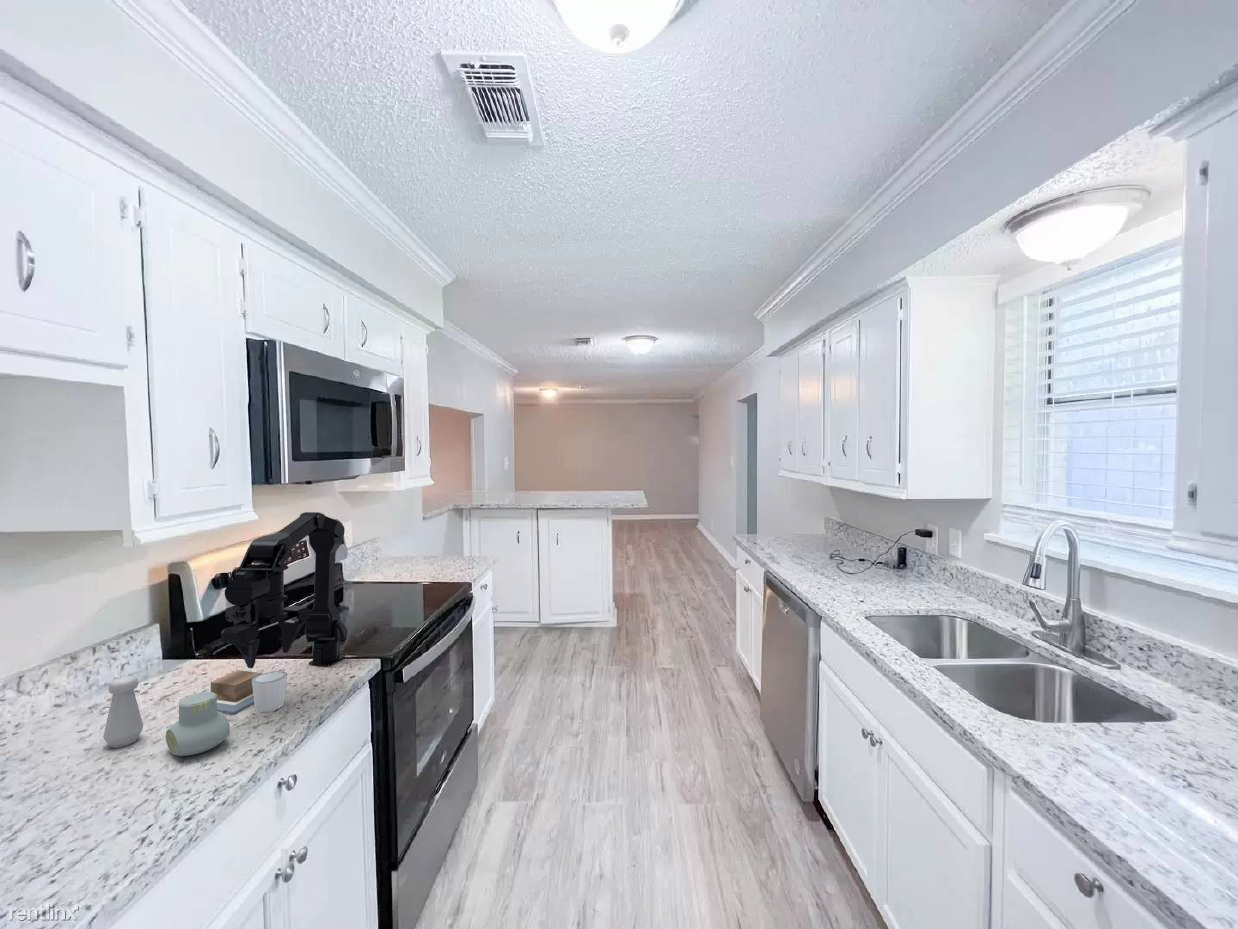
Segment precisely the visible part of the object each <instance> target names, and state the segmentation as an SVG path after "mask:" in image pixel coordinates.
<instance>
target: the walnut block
mask: <svg viewBox="0 0 1238 929" xmlns="http://www.w3.org/2000/svg"><path fill="white" fill-rule="evenodd" d="M260 674H263V673H262V672H255V671H250V670H241V669H237V670H235V671H232V672H231V673H228V674H227V675H223V676H221V677H219V678H217V679H215V680H213V681H210V692H213V693H215V694H216V695H217V700H221V701H228V702H237V701H239V700H241V699H243V698H245V697H247V696H249V695H251V694H253V687H252V679H253V678H254V677H256V676H258V675H260Z"/></svg>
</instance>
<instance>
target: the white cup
mask: <svg viewBox="0 0 1238 929" xmlns="http://www.w3.org/2000/svg"><path fill="white" fill-rule="evenodd" d="M287 680H288V673H287V672H286V671H283V670H275V671H268V672H264V673H262V674H260V675H258V676H256V677H254V678H253V679H252V687H253V696H254V704H253V705H254V711H255V712H256V711H257V712H256V713H260V712H263V713H268V712H269V711H270V712H274V711H277V710H279V709H280V707H281V708H282V707H283V706H284V704H285V698H286V688H287ZM276 709H277V710H276ZM270 712H269V713H270Z"/></svg>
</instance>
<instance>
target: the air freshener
mask: <svg viewBox="0 0 1238 929" xmlns="http://www.w3.org/2000/svg"><path fill="white" fill-rule="evenodd" d="M230 727H231V726H230V722H229V720H228V718H227V716H226V715H225V713H222V712H217V695H216V694H215V693H213V692H211V691H204V692H203V691H202V692H197V693H192V694H191V695H188V696H186V697H184V698H183V699H181V701H179V703H178V721H176V722H175V723H173V724H172V725H171V726H170V727H168V729H167V730H166V732H165V741H166V745H167V748H168V750H169V751H170V753H171V754H172V755H174V756H178V757H179V756H181V757H187V756H193V755H194V756H195V755H197V754H198V755H199V754H203V753H205V752H207V751H210V750H211V749H213V748H215V747H217V746H218V745H220V744H221V743H222V742H224V740H226V739H227V737H228V736H229V734H230V733H231V732H230V731H231V728H230Z"/></svg>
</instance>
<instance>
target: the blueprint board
mask: <svg viewBox="0 0 1238 929" xmlns="http://www.w3.org/2000/svg"><path fill="white" fill-rule="evenodd" d="M250 705H251V706H253V705H254V696H253V694H251V695H249V696H247V697H245V698H243V699H241V700H239V701H237V702H228V701H221V700H217V712H222V713H223V714H224V715H225V714H227V715H236V714H238V713H239V711H240V712H241V711H244V710H245V709H247V708H250Z"/></svg>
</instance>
